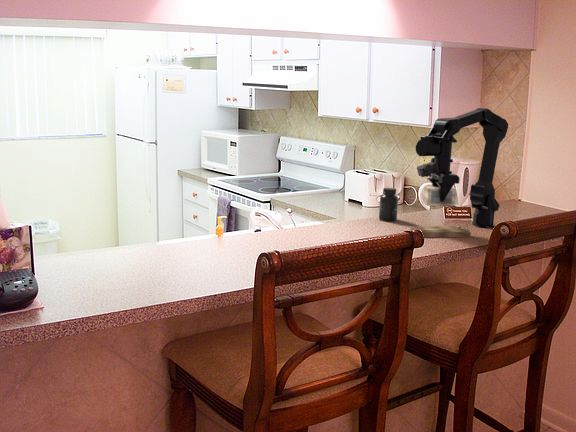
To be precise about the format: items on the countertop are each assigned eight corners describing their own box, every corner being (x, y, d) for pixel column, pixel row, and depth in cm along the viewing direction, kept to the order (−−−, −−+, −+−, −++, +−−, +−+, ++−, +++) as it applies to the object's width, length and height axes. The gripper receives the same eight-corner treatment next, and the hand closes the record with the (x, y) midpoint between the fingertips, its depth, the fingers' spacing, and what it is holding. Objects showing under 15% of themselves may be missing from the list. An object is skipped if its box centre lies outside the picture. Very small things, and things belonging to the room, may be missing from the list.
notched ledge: (458, 230, 242) (458, 223, 241) (470, 236, 232) (470, 229, 232) (410, 230, 239) (410, 223, 238) (420, 237, 229) (420, 230, 229)
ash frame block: (449, 203, 240) (451, 186, 239) (454, 205, 235) (456, 188, 234) (422, 203, 238) (423, 186, 237) (427, 205, 234) (428, 188, 233)
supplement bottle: (398, 221, 253) (400, 190, 251) (379, 221, 253) (381, 189, 251) (395, 218, 260) (397, 187, 258) (377, 217, 260) (379, 186, 258)
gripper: (411, 152, 241) (408, 195, 244) (429, 158, 223) (426, 204, 226) (441, 152, 243) (437, 195, 246) (461, 158, 225) (458, 205, 228)
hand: (439, 200), depth 236 cm, fingers closed on ash frame block, 5 cm apart
